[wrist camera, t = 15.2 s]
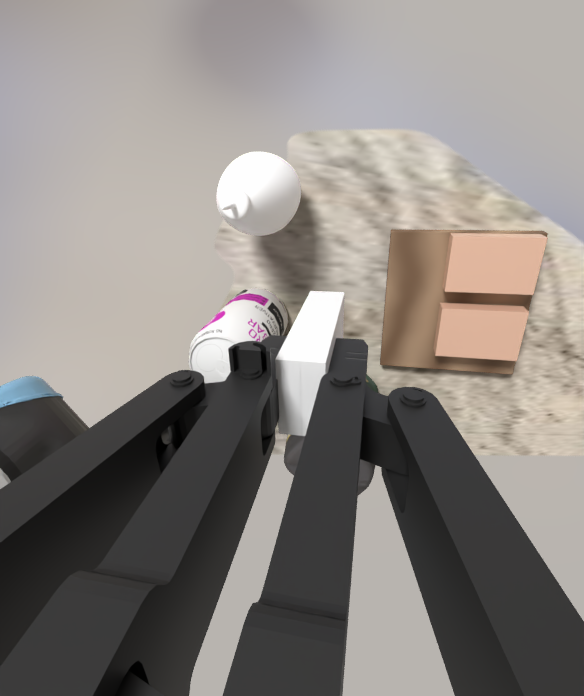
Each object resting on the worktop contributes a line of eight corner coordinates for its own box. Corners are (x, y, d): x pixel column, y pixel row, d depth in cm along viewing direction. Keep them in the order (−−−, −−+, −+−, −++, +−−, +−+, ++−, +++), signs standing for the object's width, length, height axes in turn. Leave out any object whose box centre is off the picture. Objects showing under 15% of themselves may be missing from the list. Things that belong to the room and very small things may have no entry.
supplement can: (220, 318, 56) (170, 370, 43) (251, 273, 52) (207, 315, 39) (266, 353, 57) (232, 414, 44) (300, 311, 53) (274, 364, 40)
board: (380, 359, 54) (380, 364, 52) (391, 229, 46) (391, 231, 45) (509, 368, 51) (512, 374, 49) (542, 231, 43) (547, 233, 42)
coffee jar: (388, 386, 55) (390, 485, 39) (350, 419, 59) (338, 522, 43) (334, 343, 54) (313, 427, 38) (299, 380, 58) (266, 470, 42)
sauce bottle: (235, 206, 49) (164, 233, 33) (257, 139, 45) (190, 134, 29) (293, 234, 49) (250, 274, 33) (320, 170, 45) (286, 181, 29)
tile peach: (444, 291, 44) (533, 294, 43) (453, 236, 42) (547, 237, 40) (442, 285, 46) (526, 288, 45) (449, 232, 44) (539, 233, 42)
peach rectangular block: (435, 355, 48) (516, 361, 46) (442, 308, 45) (528, 312, 44) (433, 347, 50) (511, 352, 48) (439, 301, 47) (522, 305, 46)
